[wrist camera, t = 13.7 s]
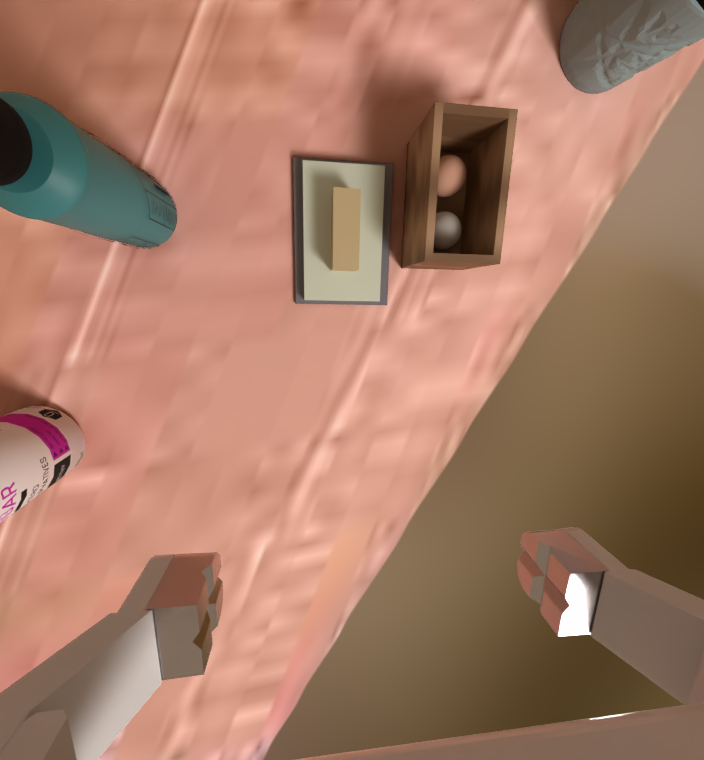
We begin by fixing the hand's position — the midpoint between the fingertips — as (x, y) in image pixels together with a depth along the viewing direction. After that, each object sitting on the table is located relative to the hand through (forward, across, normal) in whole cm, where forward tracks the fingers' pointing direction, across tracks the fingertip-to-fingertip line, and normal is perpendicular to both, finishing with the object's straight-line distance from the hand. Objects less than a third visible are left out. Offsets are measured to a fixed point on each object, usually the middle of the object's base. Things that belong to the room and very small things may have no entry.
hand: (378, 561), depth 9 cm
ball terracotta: (+30, -12, -19) cm, 38 cm away
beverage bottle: (+31, +17, -14) cm, 38 cm away
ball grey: (+30, -12, -14) cm, 35 cm away
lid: (+31, -2, -13) cm, 33 cm away
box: (+31, -12, -16) cm, 37 cm away
